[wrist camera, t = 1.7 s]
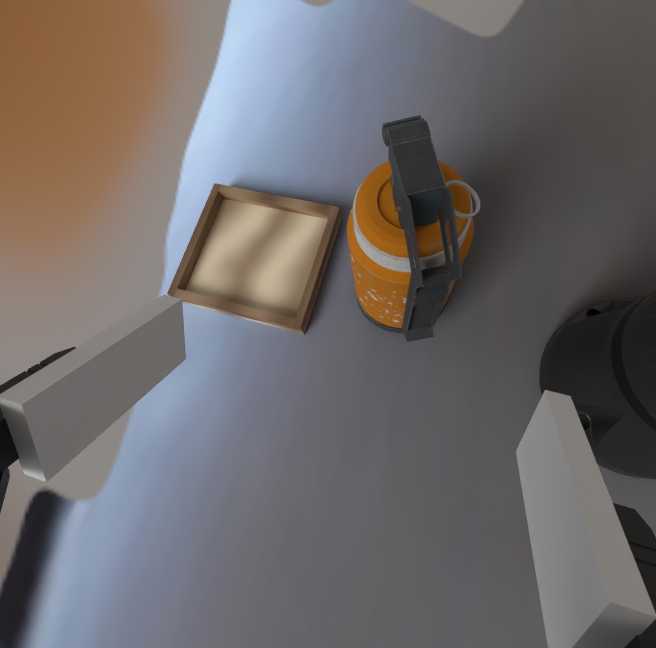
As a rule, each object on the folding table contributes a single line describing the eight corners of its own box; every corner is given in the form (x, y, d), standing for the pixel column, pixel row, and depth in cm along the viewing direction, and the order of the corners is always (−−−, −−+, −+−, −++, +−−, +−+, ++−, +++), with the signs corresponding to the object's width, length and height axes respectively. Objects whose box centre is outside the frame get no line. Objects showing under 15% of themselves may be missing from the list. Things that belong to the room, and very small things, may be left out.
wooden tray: (341, 219, 45) (339, 207, 42) (304, 334, 41) (300, 327, 39) (222, 195, 48) (214, 183, 45) (177, 301, 44) (167, 293, 42)
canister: (433, 244, 42) (476, 76, 23) (462, 345, 39) (540, 243, 20) (349, 262, 43) (324, 112, 24) (370, 363, 39) (360, 280, 21)
